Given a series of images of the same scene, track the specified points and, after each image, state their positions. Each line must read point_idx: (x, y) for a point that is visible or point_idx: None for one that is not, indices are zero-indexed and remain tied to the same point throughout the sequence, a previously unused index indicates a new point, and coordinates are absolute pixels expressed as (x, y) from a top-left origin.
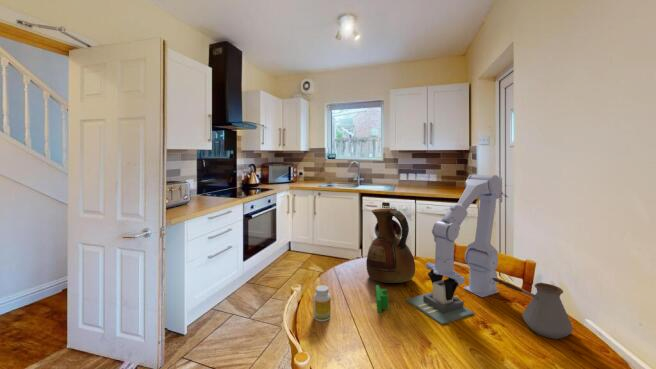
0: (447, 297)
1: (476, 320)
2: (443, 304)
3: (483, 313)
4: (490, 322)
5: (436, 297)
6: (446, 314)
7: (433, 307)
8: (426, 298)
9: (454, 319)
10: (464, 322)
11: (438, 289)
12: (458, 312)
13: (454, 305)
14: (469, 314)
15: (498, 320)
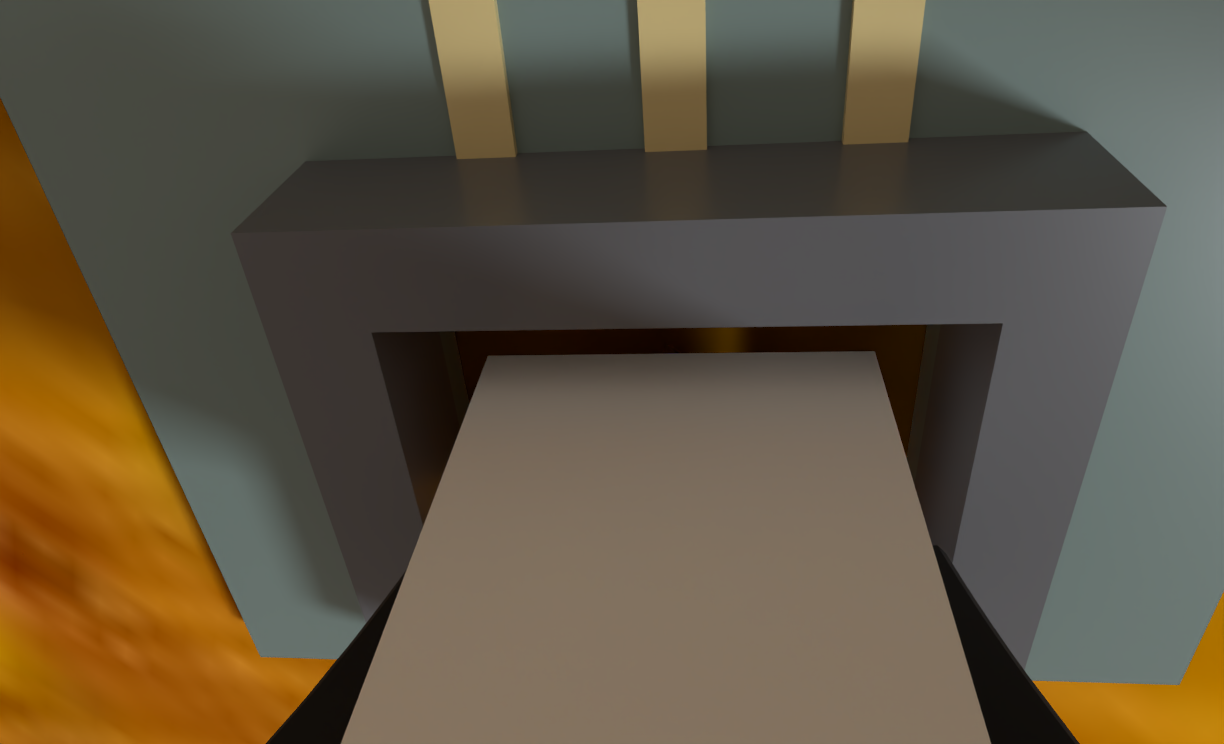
0: (390, 601)
1: (92, 536)
2: (481, 380)
3: (274, 725)
4: (35, 638)
5: (733, 428)
6: (259, 197)
7: (642, 135)
8: (985, 191)
9: (71, 218)
10: (26, 334)
11: (636, 688)
12: (295, 468)
13: (353, 540)
14: (228, 569)
15: (85, 732)
